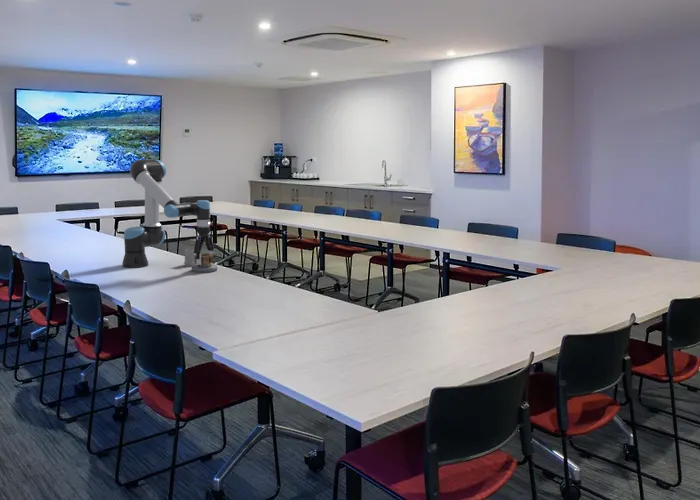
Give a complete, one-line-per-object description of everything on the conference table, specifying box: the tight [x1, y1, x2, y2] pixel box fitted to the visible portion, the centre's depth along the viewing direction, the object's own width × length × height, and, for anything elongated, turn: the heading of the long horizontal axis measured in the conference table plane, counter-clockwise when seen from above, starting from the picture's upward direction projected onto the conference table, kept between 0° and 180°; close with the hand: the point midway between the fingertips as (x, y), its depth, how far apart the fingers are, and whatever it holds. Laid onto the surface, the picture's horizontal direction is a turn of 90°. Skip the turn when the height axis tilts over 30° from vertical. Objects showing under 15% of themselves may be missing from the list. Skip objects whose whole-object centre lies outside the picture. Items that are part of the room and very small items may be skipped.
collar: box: [194, 252, 215, 265], centre depth 375 cm, size 11×11×5 cm
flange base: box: [191, 262, 218, 274], centre depth 375 cm, size 15×15×8 cm
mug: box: [183, 248, 197, 267], centre depth 392 cm, size 8×12×12 cm, turn 148°
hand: (204, 262), depth 375 cm, fingers closed on collar, 11 cm apart
